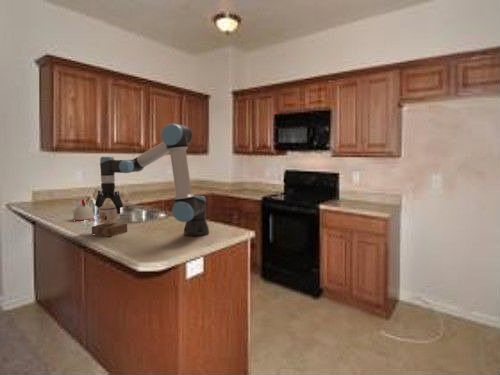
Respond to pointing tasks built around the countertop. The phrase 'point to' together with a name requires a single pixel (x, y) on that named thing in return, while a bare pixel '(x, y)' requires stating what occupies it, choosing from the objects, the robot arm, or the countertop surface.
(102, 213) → the teacup with lid
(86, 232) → the countertop surface
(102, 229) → the block
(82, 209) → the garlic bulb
